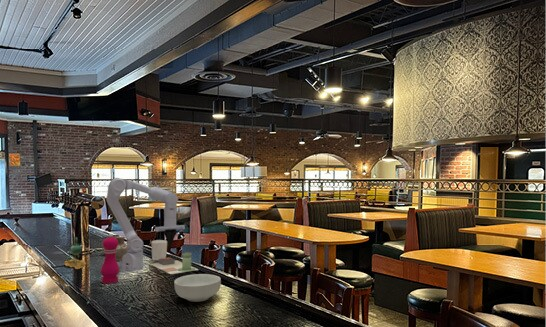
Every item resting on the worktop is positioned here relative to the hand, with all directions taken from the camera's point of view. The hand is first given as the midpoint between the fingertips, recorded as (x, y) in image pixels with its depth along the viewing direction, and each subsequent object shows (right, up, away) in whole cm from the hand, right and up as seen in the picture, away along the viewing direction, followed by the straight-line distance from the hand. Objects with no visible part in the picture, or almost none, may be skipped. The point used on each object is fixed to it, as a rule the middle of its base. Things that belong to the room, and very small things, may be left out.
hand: (169, 245), depth 199 cm
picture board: (+3, -10, -4) cm, 12 cm away
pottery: (-34, -11, +20) cm, 41 cm away
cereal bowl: (+22, -10, -48) cm, 54 cm away
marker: (+10, -9, -9) cm, 17 cm away
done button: (-2, -9, +3) cm, 10 cm away
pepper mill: (-18, -10, -27) cm, 34 cm away
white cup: (-9, -11, +13) cm, 19 cm away
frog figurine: (-47, -10, +1) cm, 48 cm away
